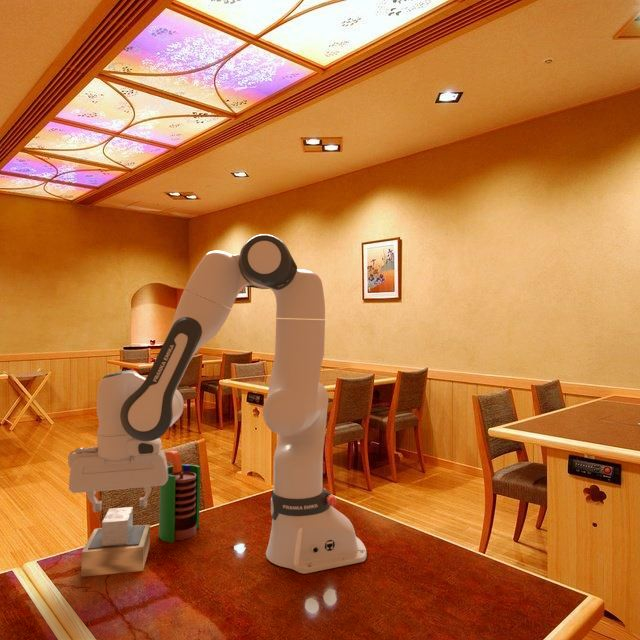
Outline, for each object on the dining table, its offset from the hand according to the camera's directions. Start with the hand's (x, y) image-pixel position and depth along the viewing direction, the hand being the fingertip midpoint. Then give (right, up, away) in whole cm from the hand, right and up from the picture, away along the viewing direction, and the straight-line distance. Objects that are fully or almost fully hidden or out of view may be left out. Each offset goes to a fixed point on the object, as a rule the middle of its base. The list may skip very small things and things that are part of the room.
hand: (120, 508), depth 111 cm
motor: (+9, -12, +14) cm, 20 cm away
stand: (-1, -11, 0) cm, 11 cm away
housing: (0, -6, -1) cm, 6 cm away
